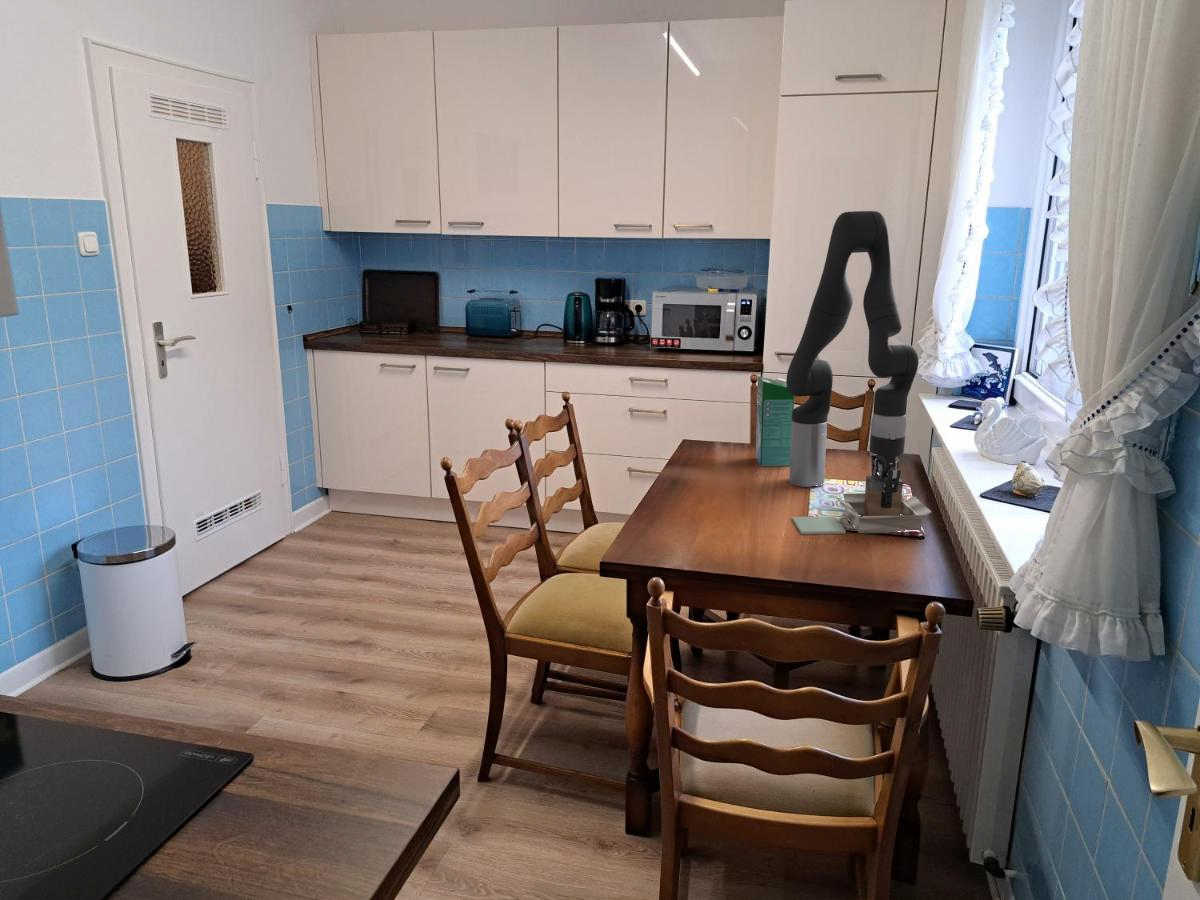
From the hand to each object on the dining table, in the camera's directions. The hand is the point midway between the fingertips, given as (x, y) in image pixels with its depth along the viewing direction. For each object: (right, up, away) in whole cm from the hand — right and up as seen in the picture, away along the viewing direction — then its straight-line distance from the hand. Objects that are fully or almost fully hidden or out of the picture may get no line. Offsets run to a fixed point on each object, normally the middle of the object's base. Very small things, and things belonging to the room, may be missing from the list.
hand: (882, 503), depth 198 cm
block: (0, -4, +1) cm, 4 cm away
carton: (0, -5, +1) cm, 5 cm away
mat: (-15, -5, 0) cm, 16 cm away
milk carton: (-15, +9, +53) cm, 56 cm away
